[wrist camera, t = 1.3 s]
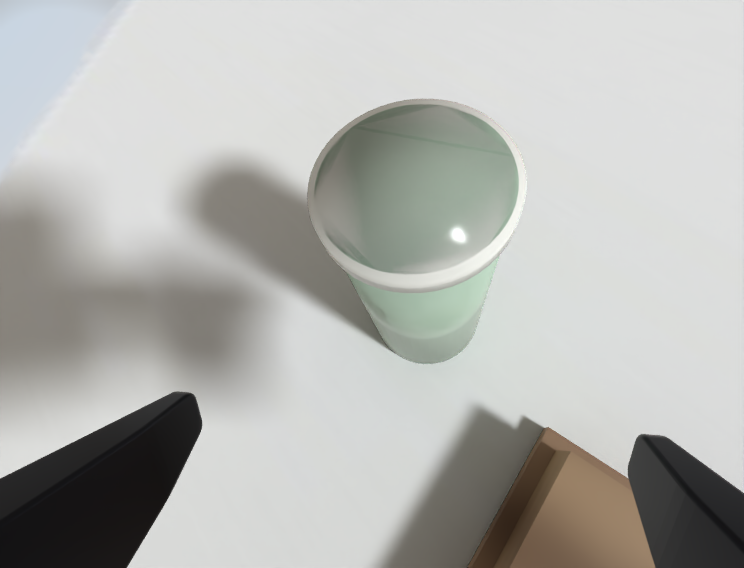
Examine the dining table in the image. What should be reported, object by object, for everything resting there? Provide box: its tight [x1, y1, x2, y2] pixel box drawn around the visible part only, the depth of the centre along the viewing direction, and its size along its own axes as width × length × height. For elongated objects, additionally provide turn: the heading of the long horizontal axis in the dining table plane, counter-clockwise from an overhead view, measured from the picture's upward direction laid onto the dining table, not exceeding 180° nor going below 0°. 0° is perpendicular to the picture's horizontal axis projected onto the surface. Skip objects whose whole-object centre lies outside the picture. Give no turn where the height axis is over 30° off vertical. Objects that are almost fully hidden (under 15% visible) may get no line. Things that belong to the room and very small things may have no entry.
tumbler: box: [307, 99, 527, 364], centre depth 16 cm, size 6×6×12 cm
